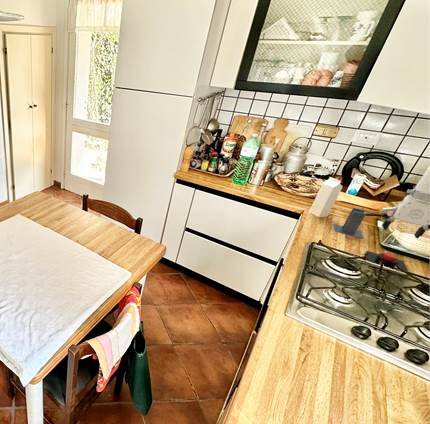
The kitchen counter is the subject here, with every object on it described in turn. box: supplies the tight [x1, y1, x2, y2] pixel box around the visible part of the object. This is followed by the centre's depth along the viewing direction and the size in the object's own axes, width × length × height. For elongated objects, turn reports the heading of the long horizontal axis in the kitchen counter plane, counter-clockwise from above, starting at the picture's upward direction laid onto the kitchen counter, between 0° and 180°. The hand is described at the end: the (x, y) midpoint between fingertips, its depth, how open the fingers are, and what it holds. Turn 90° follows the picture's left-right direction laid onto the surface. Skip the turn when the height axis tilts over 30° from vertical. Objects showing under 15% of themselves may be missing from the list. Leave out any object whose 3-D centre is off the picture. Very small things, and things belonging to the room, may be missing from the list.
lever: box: [358, 211, 390, 218], centre depth 145 cm, size 12×5×2 cm, turn 52°
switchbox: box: [363, 250, 409, 273], centre depth 130 cm, size 12×10×4 cm
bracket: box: [333, 207, 367, 240], centre depth 151 cm, size 11×9×13 cm
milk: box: [308, 176, 343, 218], centre depth 164 cm, size 6×6×22 cm
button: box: [383, 252, 397, 261], centre depth 129 cm, size 4×4×2 cm
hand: (399, 232), depth 127 cm, fingers open, 9 cm apart
